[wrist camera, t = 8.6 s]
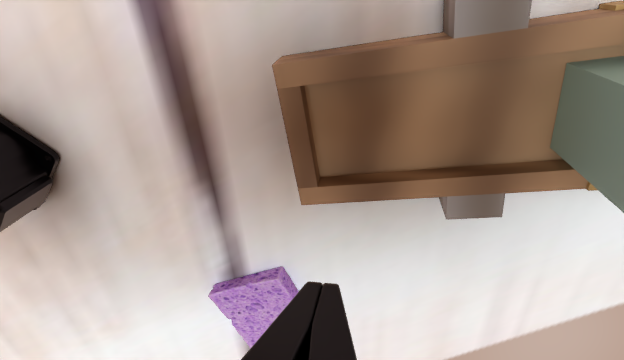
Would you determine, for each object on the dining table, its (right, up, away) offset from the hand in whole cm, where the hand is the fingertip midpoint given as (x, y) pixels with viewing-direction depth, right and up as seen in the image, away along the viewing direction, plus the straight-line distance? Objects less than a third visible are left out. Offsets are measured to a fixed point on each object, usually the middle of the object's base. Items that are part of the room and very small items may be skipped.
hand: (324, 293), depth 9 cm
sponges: (-3, -10, +22) cm, 25 cm away
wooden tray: (+8, +7, +10) cm, 15 cm away
